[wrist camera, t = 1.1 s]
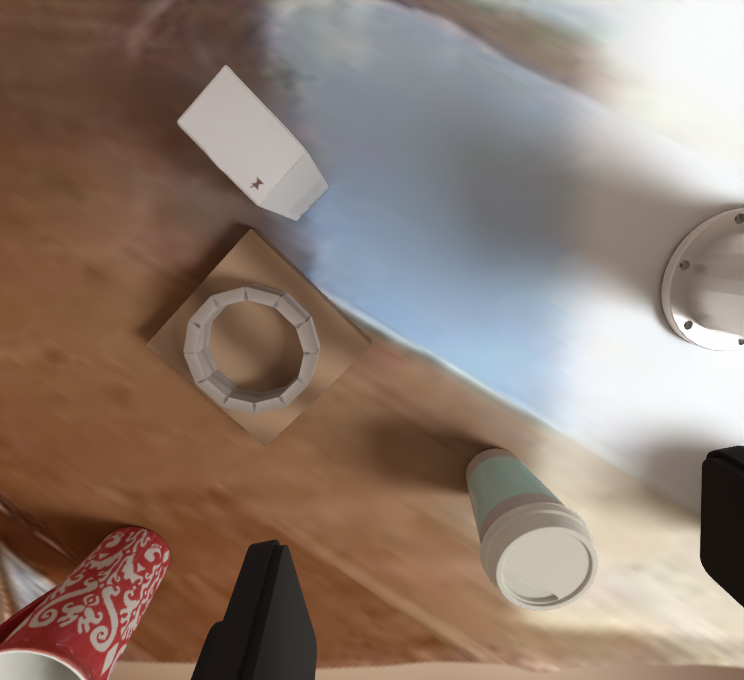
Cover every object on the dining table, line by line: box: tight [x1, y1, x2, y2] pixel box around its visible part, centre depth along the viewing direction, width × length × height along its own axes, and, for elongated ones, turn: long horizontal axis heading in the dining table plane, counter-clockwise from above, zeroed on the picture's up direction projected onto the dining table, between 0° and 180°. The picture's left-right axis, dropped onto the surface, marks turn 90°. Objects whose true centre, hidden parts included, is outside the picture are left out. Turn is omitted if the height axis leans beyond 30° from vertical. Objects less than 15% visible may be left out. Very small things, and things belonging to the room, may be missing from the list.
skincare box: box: [177, 65, 329, 221], centre depth 26 cm, size 6×4×12 cm
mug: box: [0, 527, 170, 680], centre depth 34 cm, size 13×9×14 cm
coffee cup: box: [466, 449, 598, 611], centre depth 33 cm, size 8×8×12 cm
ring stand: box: [146, 229, 371, 446], centre depth 33 cm, size 14×14×4 cm
